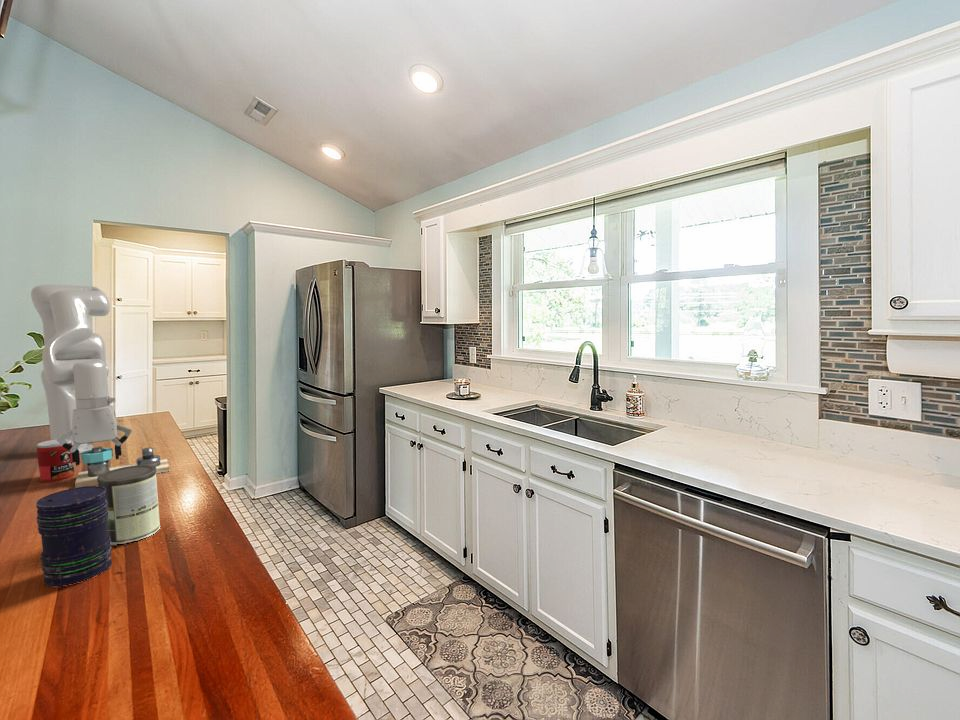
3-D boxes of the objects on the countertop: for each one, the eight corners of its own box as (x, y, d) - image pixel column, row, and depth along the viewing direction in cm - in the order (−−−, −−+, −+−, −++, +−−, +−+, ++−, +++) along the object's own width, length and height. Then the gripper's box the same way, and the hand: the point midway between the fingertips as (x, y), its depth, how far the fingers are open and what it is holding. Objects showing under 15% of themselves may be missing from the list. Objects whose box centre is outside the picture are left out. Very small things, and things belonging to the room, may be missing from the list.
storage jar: (109, 553, 94) (103, 482, 92) (116, 572, 87) (109, 495, 85) (42, 572, 87) (34, 495, 85) (43, 594, 80) (35, 511, 78)
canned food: (54, 483, 133) (50, 446, 132) (32, 481, 135) (28, 445, 134) (81, 474, 141) (78, 439, 140) (60, 472, 142) (57, 438, 141)
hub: (136, 465, 144) (135, 448, 144) (160, 461, 148) (158, 444, 147) (136, 470, 140) (135, 452, 139) (160, 466, 143) (159, 449, 143)
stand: (88, 473, 137) (86, 447, 136) (110, 470, 140) (108, 444, 139) (87, 478, 133) (85, 451, 132) (109, 474, 136) (107, 448, 135)
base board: (79, 477, 138) (78, 472, 138) (167, 462, 151) (167, 458, 151) (75, 488, 129) (74, 483, 129) (169, 471, 142) (169, 467, 142)
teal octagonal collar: (83, 458, 137) (82, 450, 137) (113, 454, 141) (112, 446, 141) (81, 464, 131) (80, 456, 131) (112, 459, 135) (111, 451, 135)
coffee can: (90, 547, 96) (84, 481, 95) (124, 524, 106) (118, 465, 105) (142, 544, 97) (137, 479, 96) (170, 522, 107) (166, 464, 106)
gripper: (130, 398, 143) (134, 453, 144) (54, 405, 132) (60, 463, 134) (130, 401, 137) (134, 458, 138) (50, 409, 126) (56, 470, 128)
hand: (98, 461), depth 136 cm, fingers open, 8 cm apart
